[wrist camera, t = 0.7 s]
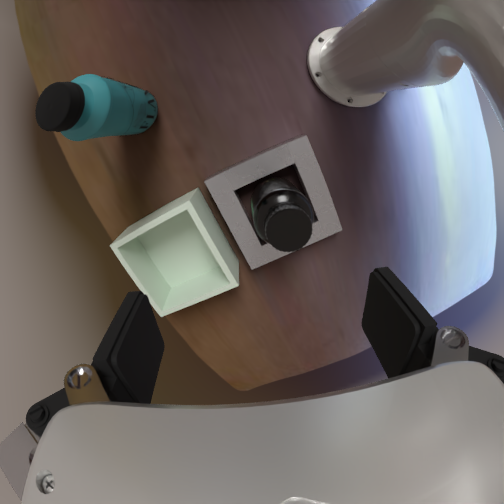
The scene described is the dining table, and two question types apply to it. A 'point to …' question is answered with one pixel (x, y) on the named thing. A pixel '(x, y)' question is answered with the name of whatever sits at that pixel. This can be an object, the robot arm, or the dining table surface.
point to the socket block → (263, 165)
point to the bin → (178, 254)
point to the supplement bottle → (281, 214)
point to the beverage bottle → (95, 108)
